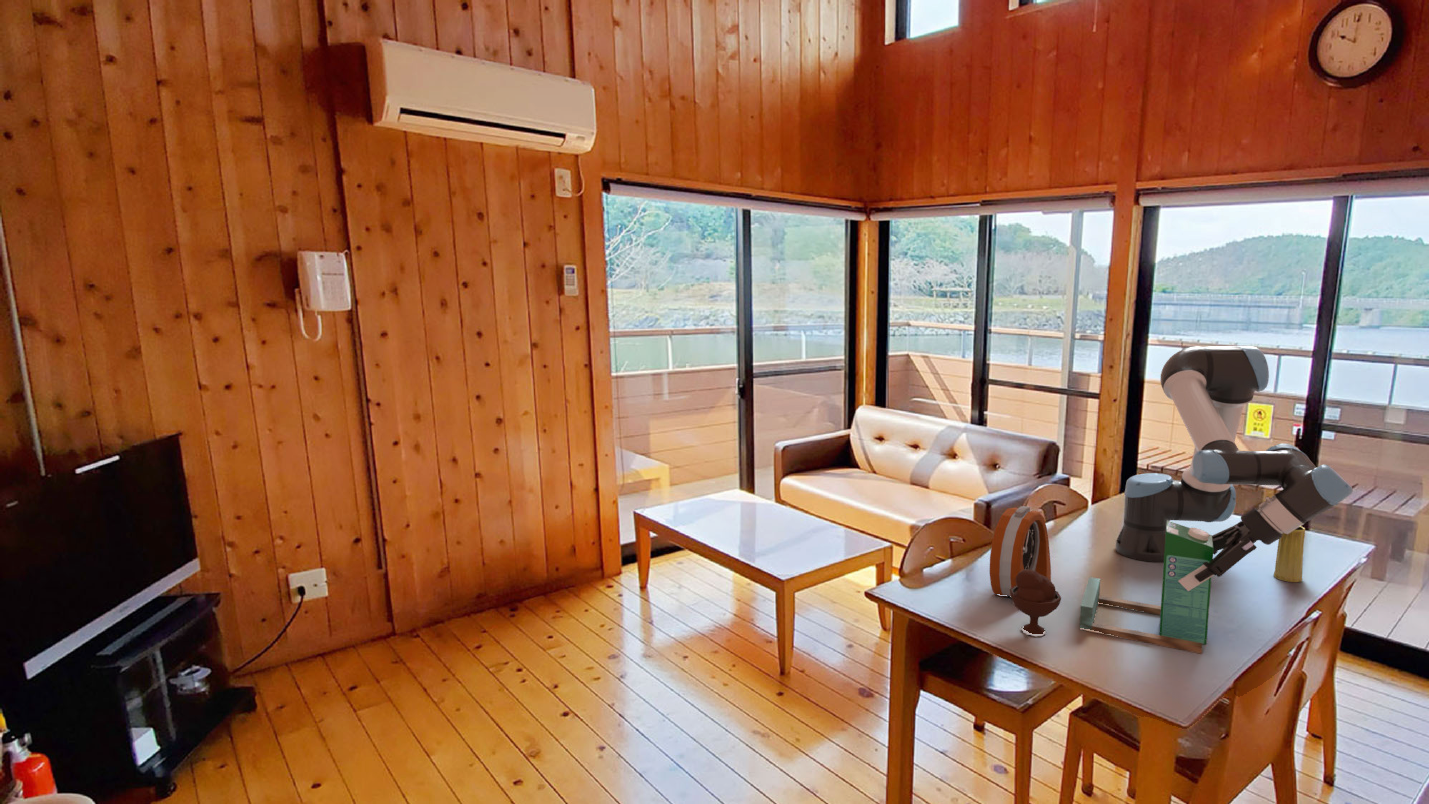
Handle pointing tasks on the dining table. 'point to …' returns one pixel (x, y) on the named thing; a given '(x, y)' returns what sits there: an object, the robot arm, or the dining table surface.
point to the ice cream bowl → (1034, 597)
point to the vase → (1290, 556)
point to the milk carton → (1180, 607)
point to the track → (1087, 620)
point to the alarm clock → (1018, 548)
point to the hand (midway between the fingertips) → (1182, 575)
